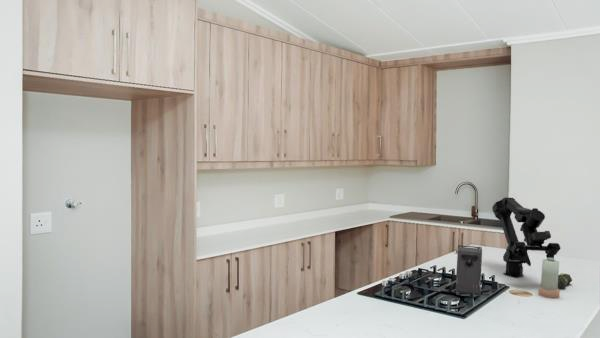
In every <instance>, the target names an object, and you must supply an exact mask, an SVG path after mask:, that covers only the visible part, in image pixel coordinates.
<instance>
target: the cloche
mask: <svg viewBox="0 0 600 338" xmlns="http://www.w3.org/2000/svg"><path fill="white" fill-rule="evenodd" d="M541 262H542V263H541V278H540V279H541V280H540V281H541V282H540V286H541V288H543V289H546V290H553V291H554V290H557V289H558V275H560V273H559V272H560V270H559V269H560V261H559V260H555V257H554V258H551V257H548V259H547V258H546V259H544V258H543V259H542V261H541Z"/></svg>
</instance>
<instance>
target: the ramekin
mask: <svg viewBox="0 0 600 338" xmlns="http://www.w3.org/2000/svg"><path fill="white" fill-rule="evenodd" d="M560 291H561V289H557V290H554V291H553V290H546V289H543V288H541V285H539V286H538V290H537V292H538V296H540V297H543V298H548V299H559V298H560V293H561V292H560Z"/></svg>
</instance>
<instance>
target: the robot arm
mask: <svg viewBox="0 0 600 338" xmlns="http://www.w3.org/2000/svg"><path fill="white" fill-rule="evenodd" d="M491 208H492V212H493V214H494V216H495V217H496V218H497V219H498V221H500V224H501V227H502V230H503V233H504V236H505V240H506V243H507V246H506V249H505V252H504V254H503V256H502V258H503V262H505V272H503V275H505V276H508V277H509V276H510V277H512V278H513V277H514V278H521V277H524V266H523V264H526V265H527V266H528V267H531V265H532V264H531V263H532V262H531V260H530V259H531V258H530V257H529V255H528V251H535V252H536V251H539V252H544V253H545V255H546V256H545V257H546V259H548V257H551V258H554V259H555V256H556V255H557V254H558V253H559V251H560V250H561V246H560V243H558V242H548V243H547V245H544V244H545V241H547V240H550V239H551V238H552V235H551V231H550V230H544V231H538V228H539V227H540V226H541V225H542V223H543V222H544V220H545V219H546V215H545V213H543V212H542V211H540V210H538V208H536V207H534V208H532V209H530V208H527V207H524V206H522V205H521V204H520V203H519V202H518V201H517V200H516V199H515V198H514V197H502V199H500V200H497V201H495V203H494V204H493V205H492V207H491ZM512 213H513V215H514V219H515V221H516V222H517V223H522V224H521V225H520V229H519V230H520V232H522V234H523V237H524V239H523V241H520V240H519V238H518V236H517V234H516V230H515V227H514V224H513V221H512V218H511V215H512Z"/></svg>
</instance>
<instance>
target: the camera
mask: <svg viewBox="0 0 600 338" xmlns="http://www.w3.org/2000/svg"><path fill="white" fill-rule="evenodd" d="M453 253H454V254H456V255H457V257H456V275H455V289H456V292H459V293H460V294H471V293H472V292H474V294H475V295H478V296H480V297H481V286H482V283H481V282H482V266H483V265H482V264H483V263H482V261H483V247H482V246H473V245H471V246H470V245H462V244H458V245H457V249H455V250H453Z"/></svg>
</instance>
